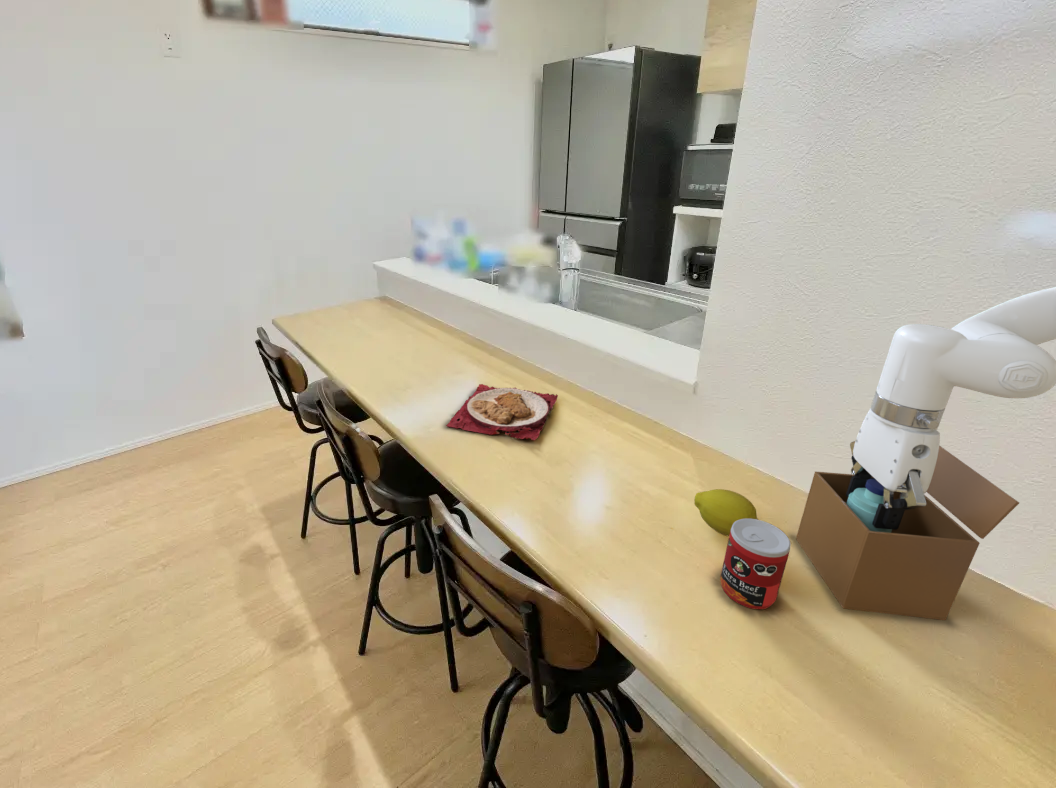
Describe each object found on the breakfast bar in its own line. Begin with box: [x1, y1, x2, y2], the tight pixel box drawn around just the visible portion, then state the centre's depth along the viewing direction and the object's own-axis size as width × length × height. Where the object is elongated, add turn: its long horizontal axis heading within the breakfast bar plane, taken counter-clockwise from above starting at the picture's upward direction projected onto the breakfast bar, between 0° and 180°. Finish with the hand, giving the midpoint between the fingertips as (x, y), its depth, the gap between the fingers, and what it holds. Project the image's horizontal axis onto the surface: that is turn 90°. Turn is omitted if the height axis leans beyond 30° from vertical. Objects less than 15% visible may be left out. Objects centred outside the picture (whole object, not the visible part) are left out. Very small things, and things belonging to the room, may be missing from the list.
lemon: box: [694, 488, 759, 537], centre depth 90 cm, size 11×8×8 cm
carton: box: [795, 471, 981, 621], centre depth 78 cm, size 14×15×14 cm
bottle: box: [846, 479, 892, 533], centre depth 77 cm, size 6×6×12 cm
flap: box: [926, 445, 1020, 540], centre depth 73 cm, size 7×15×1 cm
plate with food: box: [445, 383, 559, 441], centre depth 133 cm, size 24×26×4 cm
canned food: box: [719, 518, 791, 610], centre depth 76 cm, size 8×8×11 cm
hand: (870, 511), depth 77 cm, fingers closed on bottle, 6 cm apart
